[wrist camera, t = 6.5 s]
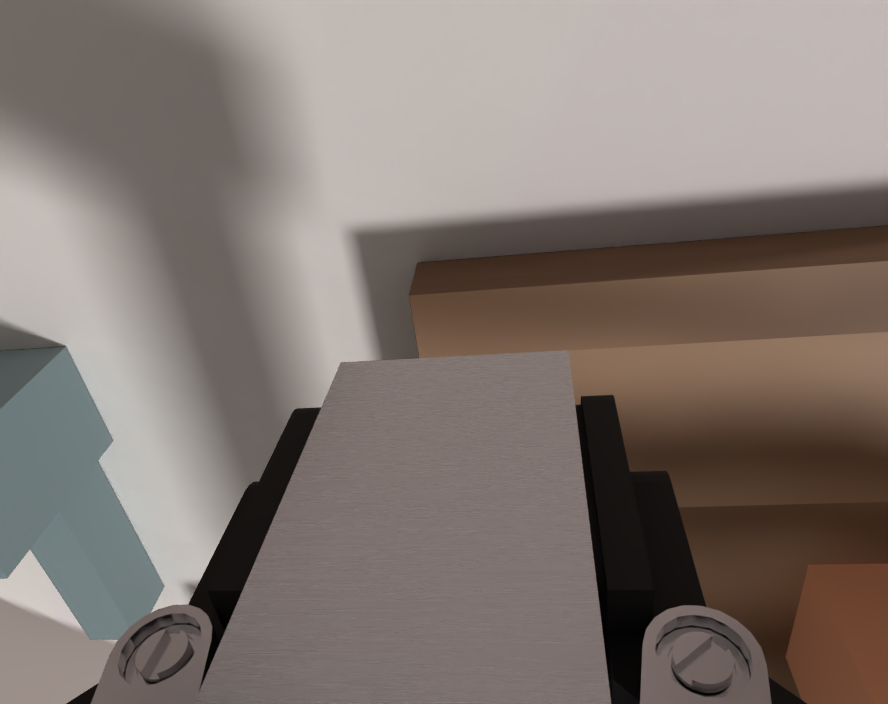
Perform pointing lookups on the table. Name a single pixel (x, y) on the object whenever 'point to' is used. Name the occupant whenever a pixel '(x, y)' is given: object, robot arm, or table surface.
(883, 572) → the cube
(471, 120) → the table surface
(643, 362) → the deck
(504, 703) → the crook
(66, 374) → the light blue l-shaped block
